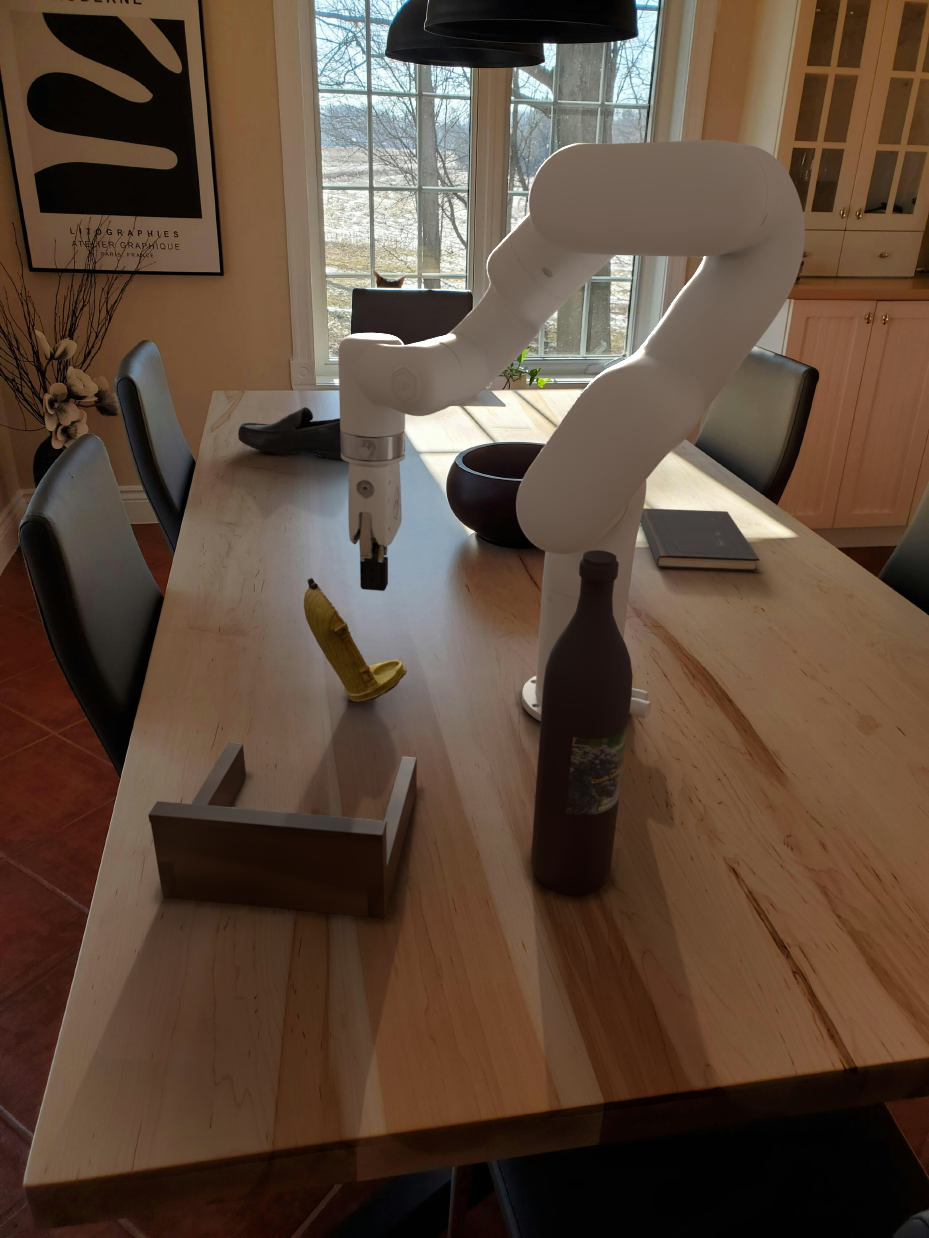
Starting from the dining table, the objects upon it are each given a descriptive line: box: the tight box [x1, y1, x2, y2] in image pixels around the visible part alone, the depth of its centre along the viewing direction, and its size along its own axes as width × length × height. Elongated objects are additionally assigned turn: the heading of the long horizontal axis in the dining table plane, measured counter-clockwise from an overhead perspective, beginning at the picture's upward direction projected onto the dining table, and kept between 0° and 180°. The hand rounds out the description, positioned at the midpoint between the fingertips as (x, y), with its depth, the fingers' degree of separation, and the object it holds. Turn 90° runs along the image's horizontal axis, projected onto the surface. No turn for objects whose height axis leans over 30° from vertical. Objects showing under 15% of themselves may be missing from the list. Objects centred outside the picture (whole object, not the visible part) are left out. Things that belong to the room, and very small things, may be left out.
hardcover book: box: [640, 507, 761, 573], centre depth 153 cm, size 16×23×2 cm
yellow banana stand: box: [303, 577, 408, 704], centre depth 103 cm, size 12×8×15 cm
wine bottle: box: [530, 550, 634, 896], centre depth 73 cm, size 7×7×30 cm
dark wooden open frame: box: [147, 742, 418, 919], centre depth 81 cm, size 18×19×9 cm
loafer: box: [237, 406, 344, 461], centre depth 197 cm, size 10×29×10 cm, turn 82°
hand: (374, 587), depth 113 cm, fingers closed
